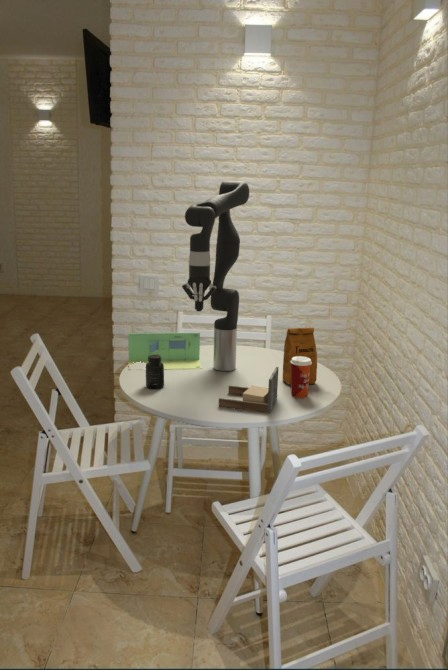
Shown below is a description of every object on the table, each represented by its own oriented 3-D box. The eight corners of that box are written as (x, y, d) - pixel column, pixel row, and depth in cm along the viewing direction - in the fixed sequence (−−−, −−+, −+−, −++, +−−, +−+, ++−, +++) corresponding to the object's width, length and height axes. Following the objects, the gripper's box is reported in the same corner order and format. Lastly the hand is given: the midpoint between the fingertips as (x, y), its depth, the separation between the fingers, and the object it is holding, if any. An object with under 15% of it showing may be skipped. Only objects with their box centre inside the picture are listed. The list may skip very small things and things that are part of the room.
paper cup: (304, 400, 212) (306, 363, 209) (284, 396, 216) (286, 359, 212) (313, 394, 219) (315, 358, 215) (294, 390, 222) (296, 354, 219)
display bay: (228, 393, 218) (229, 361, 215) (276, 398, 214) (278, 366, 210) (218, 407, 205) (219, 374, 201) (269, 413, 200) (271, 379, 197)
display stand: (199, 360, 257) (199, 332, 253) (201, 369, 245) (202, 340, 241) (128, 361, 253) (128, 333, 249) (127, 370, 241) (127, 341, 238)
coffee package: (318, 386, 227) (322, 330, 222) (287, 387, 225) (290, 331, 219) (310, 377, 237) (313, 324, 231) (280, 379, 234) (282, 324, 229)
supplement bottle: (146, 383, 226) (145, 353, 222) (164, 383, 226) (164, 353, 223) (145, 390, 219) (144, 358, 216) (164, 389, 220) (163, 358, 216)
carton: (251, 398, 214) (252, 385, 213) (271, 402, 211) (272, 388, 210) (242, 406, 206) (242, 393, 205) (262, 410, 203) (263, 396, 202)
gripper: (220, 263, 214) (219, 310, 219) (185, 261, 218) (185, 307, 222) (214, 266, 207) (213, 314, 212) (178, 263, 211) (178, 311, 215)
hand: (199, 310), depth 217 cm, fingers closed
